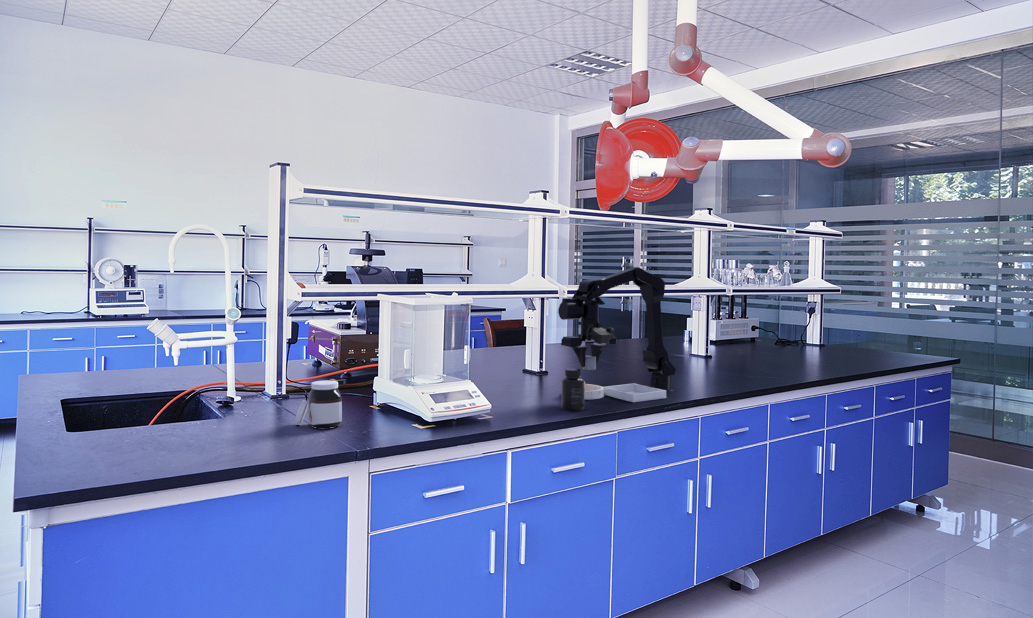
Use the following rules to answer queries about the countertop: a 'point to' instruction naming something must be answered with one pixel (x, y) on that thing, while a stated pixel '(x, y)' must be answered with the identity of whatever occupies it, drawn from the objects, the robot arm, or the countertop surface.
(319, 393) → the spread jar
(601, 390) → the bowl
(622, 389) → the parts tray
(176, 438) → the countertop surface
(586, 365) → the grey cube
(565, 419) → the countertop surface
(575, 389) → the supplement bottle
